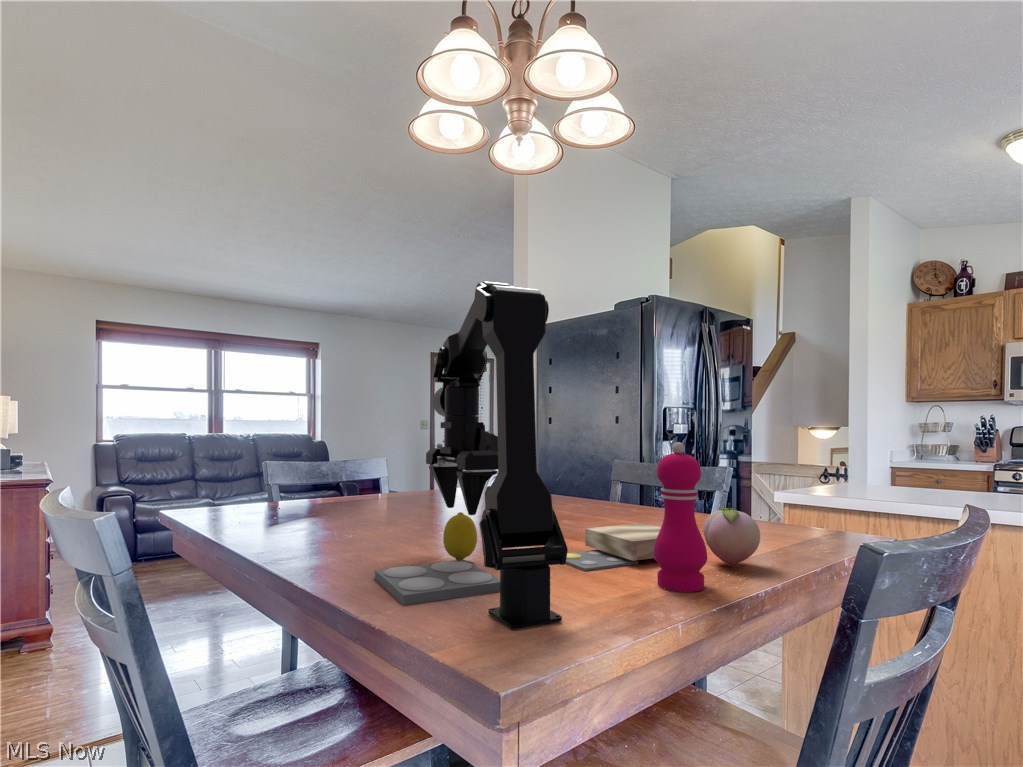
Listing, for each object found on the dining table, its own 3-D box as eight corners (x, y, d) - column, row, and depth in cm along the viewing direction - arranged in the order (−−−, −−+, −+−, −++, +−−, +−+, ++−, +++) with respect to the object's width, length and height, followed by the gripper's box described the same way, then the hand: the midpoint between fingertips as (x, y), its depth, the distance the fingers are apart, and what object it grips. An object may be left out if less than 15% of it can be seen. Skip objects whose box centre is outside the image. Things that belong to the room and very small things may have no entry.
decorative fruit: (770, 574, 86) (768, 507, 87) (714, 572, 87) (713, 506, 88) (749, 559, 96) (747, 499, 96) (699, 558, 96) (698, 498, 97)
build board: (504, 590, 77) (504, 580, 77) (403, 605, 70) (403, 593, 70) (463, 567, 89) (464, 558, 89) (374, 578, 83) (374, 568, 83)
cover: (693, 552, 96) (693, 534, 96) (633, 560, 90) (632, 541, 90) (642, 539, 108) (642, 523, 108) (585, 545, 102) (585, 528, 102)
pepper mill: (714, 584, 80) (711, 442, 82) (699, 596, 74) (696, 443, 76) (664, 576, 84) (662, 441, 86) (646, 587, 78) (644, 442, 80)
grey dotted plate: (638, 564, 92) (638, 560, 92) (585, 571, 87) (585, 567, 87) (599, 551, 101) (599, 548, 101) (549, 557, 97) (549, 554, 97)
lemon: (436, 563, 92) (437, 513, 93) (455, 556, 97) (455, 509, 97) (465, 567, 89) (465, 515, 90) (483, 560, 94) (483, 511, 95)
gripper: (531, 415, 90) (531, 515, 89) (482, 417, 107) (481, 502, 106) (467, 414, 85) (465, 520, 84) (425, 416, 102) (424, 505, 100)
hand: (460, 511), depth 94 cm, fingers open, 9 cm apart
